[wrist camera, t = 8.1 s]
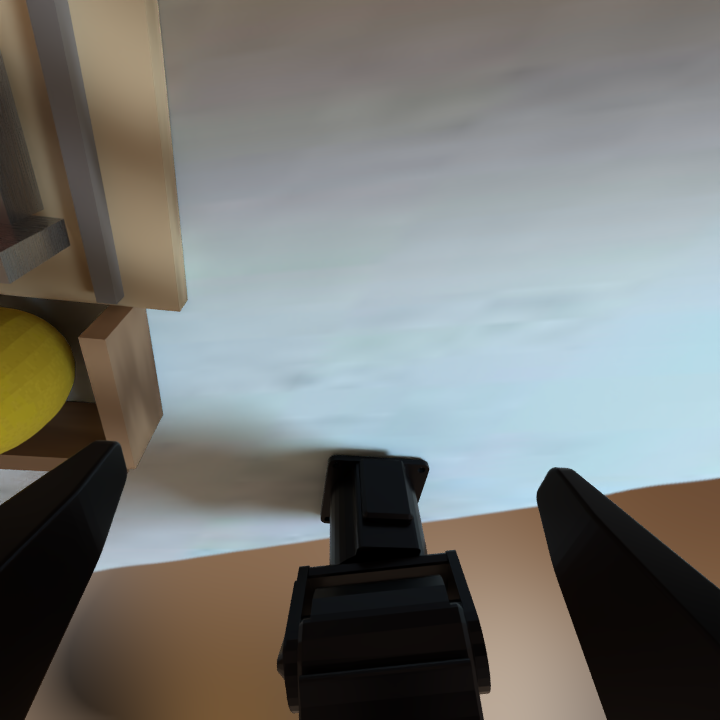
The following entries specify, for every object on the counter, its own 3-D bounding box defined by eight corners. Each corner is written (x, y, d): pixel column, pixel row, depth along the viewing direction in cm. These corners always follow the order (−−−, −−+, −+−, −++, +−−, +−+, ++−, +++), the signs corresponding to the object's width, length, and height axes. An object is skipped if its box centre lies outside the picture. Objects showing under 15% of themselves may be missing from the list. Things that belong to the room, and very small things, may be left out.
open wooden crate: (164, 420, 24) (136, 475, 21) (-26, 408, 23) (-87, 464, 20) (143, 295, 20) (105, 339, 16) (-94, 271, 18) (-187, 314, 15)
